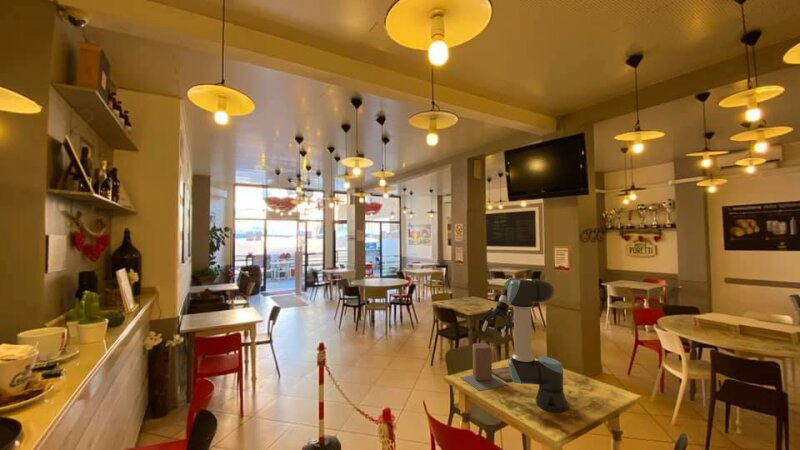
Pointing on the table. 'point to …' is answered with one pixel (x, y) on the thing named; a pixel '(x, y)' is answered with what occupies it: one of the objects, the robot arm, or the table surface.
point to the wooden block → (482, 362)
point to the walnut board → (502, 373)
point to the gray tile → (483, 383)
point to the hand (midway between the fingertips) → (492, 333)
